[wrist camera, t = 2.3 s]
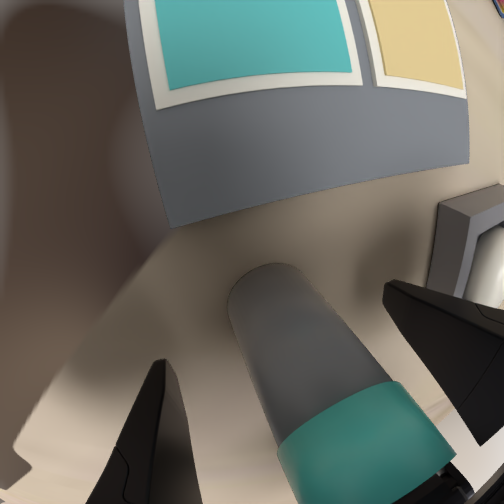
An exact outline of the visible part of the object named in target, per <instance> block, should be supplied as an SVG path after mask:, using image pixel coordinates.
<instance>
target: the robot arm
mask: <svg viewBox="0 0 504 504" xmlns="http://www.w3.org/2000/svg"><path fill="white" fill-rule="evenodd" d="M382 302H383V305H384V307H385V309H386V310H387V312H388V313H389V315H390V316H391V318H392V320H393V321H394V323H395V324H396V326H397V327H398V329H399V331H400V332H401V334H402V335H403V337H404V338H405V339H406V341H407V342H408V343H409V345H410V346H411V347H412V348H413V350H414V351H415V352H416V354H417V355H418V356H419V358H420V359H421V360H422V362H423V363H424V364H425V366H426V367H427V369H428V370H429V371H430V373H431V374H432V375H433V377H434V378H435V380H436V381H437V382H438V384H439V385H440V387H441V388H442V389H443V391H444V392H445V394H446V395H447V397H448V398H449V400H450V401H451V403H452V404H453V405H454V407H455V408H456V410H457V412H458V413H459V415H460V416H461V418H462V419H463V421H464V422H465V424H466V425H467V427H468V428H469V430H470V432H471V433H472V435H473V437H474V438H475V440H476V442H477V443H478V444H479V446H482V445H483V444H484V443H485V442H486V441H488V440H489V439H490V438H491V437H492V436H493V435H494V434H495V433H497V432H498V431H499V430H500V429H501V428H502V427H503V426H504V310H502V309H497V308H493V307H489V306H486V305H482V304H479V303H474V302H472V301H468V300H465V299H462V298H458V297H455V296H451V295H448V294H444V293H441V292H438V291H434V290H431V289H427V288H424V287H420V286H417V285H413V284H410V283H406V282H403V281H399V280H395V279H393V280H391V281H389V282H386V283H385V285H384V291H383V298H382ZM85 504H203V503H202V498H201V494H200V489H199V484H198V479H197V474H196V469H195V463H194V458H193V452H192V446H191V440H190V433H189V426H188V420H187V416H186V411H185V408H184V404H183V400H182V396H181V392H180V387H179V383H178V379H177V376H176V374H175V372H174V370H173V369H172V367H171V365H170V363H169V362H168V360H167V359H160V360H156V361H154V362H153V364H152V366H151V368H150V370H149V372H148V375H147V377H146V379H145V381H144V383H143V385H142V387H141V389H140V391H139V394H138V396H137V398H136V400H135V402H134V404H133V407H132V409H131V411H130V413H129V415H128V417H127V420H126V422H125V424H124V426H123V429H122V431H121V433H120V435H119V438H118V440H117V442H116V446H115V447H114V449H113V451H112V454H111V456H110V458H109V460H108V462H107V465H106V467H105V469H104V471H103V473H102V475H101V476H100V478H99V480H98V482H97V484H96V486H95V487H94V489H93V491H92V493H91V495H90V496H89V498H88V500H87V502H86V503H85ZM391 504H504V463H503V464H502V466H501V467H500V468H499V469H498V470H497V471H496V472H495V473H494V474H493V476H492V477H491V478H490V479H489V480H488V481H487V482H486V483H485V484H484V485H483V486H482V487H481V488H480V489H479V490H478V491H477V492H476V493H474V490H473V488H472V486H471V485H470V483H469V482H468V481H467V479H466V478H465V477H464V476H463V475H462V474H461V473H460V471H459V470H458V469H456V467H455V466H454V465H453V464H452V463H451V462H450V461H449V462H448V463H447V464H446V465H445V466H444V467H443V468H441V469H440V470H439V471H438V472H436V473H435V474H434V475H433V476H431V477H430V478H429V479H427V480H426V481H425V482H423V483H422V484H421V485H419V486H418V487H416V488H415V489H413V490H412V491H411V492H409V493H408V494H406V495H404V496H403V497H401V498H400V499H398V500H396V501H395V502H393V503H391Z"/></svg>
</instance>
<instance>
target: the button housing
mask: <svg viewBox="0 0 504 504" xmlns="http://www.w3.org/2000/svg"><path fill="white" fill-rule="evenodd" d="M495 225H499V226H501V227H503V228H504V186H503V185H501V184H498V185H494V186H491V187H488V188H485V189H481V190H478V191H475V192H472V193H469V194H465V195H462V196H459V197H456V198H452V199H449V200H446V201H443V202H439V209H438V219H437V228H436V236H435V243H434V249H433V255H432V261H431V266H430V272H429V277H428V281H427V286H426V288H427V289H431V290H434V291H438V292H441V293H444V294H448V295H451V296H455V297H458V298H462V296H463V293H464V290H465V286H466V283H467V280H468V276H469V272H470V268H471V264H472V260H473V256H474V252H475V247H476V244H477V242H478V240H479V239H480V237H481V236H482V234H483V233H484V232H485V231H487V230H488V229H490V228H492V227H493V226H495ZM462 299H463V298H462Z"/></svg>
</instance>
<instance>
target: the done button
mask: <svg viewBox="0 0 504 504" xmlns="http://www.w3.org/2000/svg"><path fill="white" fill-rule="evenodd" d="M462 298H463V299H465V300H468V301H472V302H474V303H479V304H482V305H486V306H489V307H493V308H498V307H499V305H500V304H501V303H502V301H503V300H504V228H503V227H501V226H499V225H495V226H493V227H492V228H490V229H488V230H487V231H485V232H484V233H483V234H482V236H481V237H480V239H479V240H478V242H477V244H476V247H475V252H474V256H473V260H472V264H471V268H470V272H469V276H468V280H467V283H466V286H465V290H464V293H463V296H462Z"/></svg>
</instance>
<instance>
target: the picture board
mask: <svg viewBox="0 0 504 504" xmlns="http://www.w3.org/2000/svg"><path fill="white" fill-rule="evenodd" d="M123 2H124V13H125V22H126V30H127V37H128V44H129V51H130V58H131V64H132V70H133V76H134V81H135V87H136V92H137V98H138V103H139V108H140V112H141V117H142V122H143V127H144V131H145V135H146V140H147V144H148V148H149V152H150V157H151V161H152V164H153V168H154V172H155V176H156V180H157V184H158V187H159V191H160V194H161V198H162V202H163V205H164V209H165V212H166V216H167V219H168V222H169V225H170V229H173V228H177V227H180V226H184V225H187V224H191V223H194V222H198V221H201V220H205V219H209V218H212V217H216V216H220V215H223V214H227V213H231V212H235V211H238V210H242V209H246V208H250V207H254V206H258V205H262V204H266V203H270V202H274V201H278V200H282V199H287V198H291V197H295V196H299V195H304V194H308V193H313V192H317V191H321V190H326V189H331V188H335V187H340V186H345V185H349V184H354V183H359V182H364V181H369V180H374V179H379V178H384V177H390V176H395V175H401V174H406V173H412V172H417V171H423V170H429V169H435V168H442V167H448V166H455V165H461V164H468V163H469V115H468V102H467V92H466V84H465V76H464V70H463V64H462V58H461V53H460V48H459V44H458V39H457V35H456V31H455V27H454V24H453V20H452V17H451V13H450V10H449V7H448V4H447V1H446V0H123Z"/></svg>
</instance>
